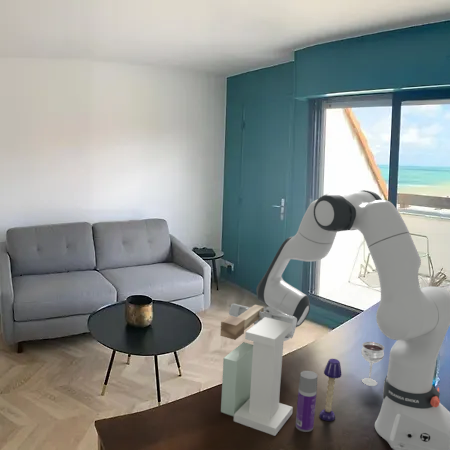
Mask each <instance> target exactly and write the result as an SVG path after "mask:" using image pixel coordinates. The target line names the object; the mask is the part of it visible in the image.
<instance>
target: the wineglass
mask: <svg viewBox="0 0 450 450" xmlns="http://www.w3.org/2000/svg"><path fill="white" fill-rule="evenodd" d="M361 346H362V348H361V356H362V358H363V359H364V361H366V362H368V363H369V374H368V377H364V379H363V378H362V379H361V380H362V382H363V383H364V384H363V383H362V382H361V383H362V384H363V385H365V384H366V386H369V387H375V386H377V385H378V381H377V382H376V380H375V379H374V380H373V378H371V375H372V371H373V365H374V364H377V363H379V362H381V361H382V360H383V358H384V355H385V353H384V350H385V346H384V345H383V344H381V343H378V342H374V341H365V342H363V343H362V345H361Z"/></svg>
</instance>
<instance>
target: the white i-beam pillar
mask: <svg viewBox="0 0 450 450" xmlns="http://www.w3.org/2000/svg"><path fill="white" fill-rule="evenodd" d="M291 331H292V323H288V322H284V321H280V320H275V319H271V318H267V317H264V318H263V319H262V320H260V321H259V322H258V323H257V324H255V325H254V324H253V325H252V326H251V327H250V328H248V329H247V330H245V333H244V334H245V336H244V337H245V340H246V341H247V340H248V341H251V342H253V343H252V345H253V357H252V373H251V389H250V399H249V400H248V401H247V402H246V403H245V404H244V405H243V406H242V407H241V408H240V409H239V410H238V411H237V412H236V413H235V414H234V416H233V422H235V423H237V424H241V425H242V426H246V427H250V428H251V429H254V430H257V431H260V432H263V433H266V434H269V435H271V436H276V435H277V434H278V432H280V431H281V429H282V428H283V426H284V425H285V424H286V423H287V421H288V420H289V419H290V417H291V416H292V414H293V407H294V406H290V405H288V404H284V403H281V402H280V392H281V380H282V365H283V355H284V354H283V353H284V342H285V341H284V337H285V336H286V335H288V334H289V333H290V332H291Z"/></svg>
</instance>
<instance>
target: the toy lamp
mask: <svg viewBox="0 0 450 450" xmlns="http://www.w3.org/2000/svg"><path fill="white" fill-rule="evenodd" d="M323 374H324V376H325V377H328V381H327V390H326V397H325V406H324V409H322V410H320V412H319V414H318V415H319V418H320V419H321V420H323V421H326V422H332V421H334V420H336V415H335V412H334V411H333V410H332V409H333V408H332V405H333V400H334V398H333V397H334V390H335V382H336V381H335V380H336V379H340V378H341V377H342V367H341V362H340V360H338V359H336V358H330V359H328V361H327V363H326V365H325V368H324V370H323Z"/></svg>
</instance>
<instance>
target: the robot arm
mask: <svg viewBox="0 0 450 450" xmlns="http://www.w3.org/2000/svg"><path fill="white" fill-rule="evenodd" d="M403 219H404V218H403V217H402V216H401V214H400V212H399V211H398V209H397V207H396V206H395V205H394V204H393V203H392V202H391V201H390V200H386V199H383V198H381V196H380V195H379V194H377V193H375V192H374V191H370V190H363V189H362V190H342V191H337V192H329V193H326V194H323V195H322V196H320V197H319V198H318V199H314V200H313V201H312V202H311V203H310V204H309V206H308V207H307V209H306V210H305V213H304V214H303V217H302V219H301V221H300V224H299V226H298V230H297V231H296V234H295V235H293V236H289V237H287V238H286V239H285V240H284V241H283V242H282V244H281V245H280V246H279V248H278V250H277V252H276V254H274V255H275V256H274V257H273V259H272V261H271V263H270V265H269V267H268V268H267V271H266V272H265V274H264V275H263V277H262V278H261V280H259V282H258V284H257V286H256V289H255V290H256V297H257V299H258V301H259V302H261V303H262V304H264V305H266V306H263V307H264V310H263V312H261V311H259V312H258V316H257V317H258V318H259V319H258V320H257V321H256V322H254V323H253V326H254V325H255V324H257V323H258V322H259V321H260V320H262V319H263V318H264V317H267V318H271V319H275V320H280V321H284V322H288V323H292V331H291V332H290V333H289V334H288V335H286V336H285V337H284V342H286V341H288V340H290V339H292V338H294V334H295V331H296V329H297V328H298V327H300V326H301V325H302V324H303V323H304V322H305V321H306V319H307V317H308V316H309V313H310V310H311V303H310V298H309V296H308V295H307V294H305V293H303V292H302V291H301V290H299V289H298V288H296V287H294V286H292V285H291V284H290V283H288V282H286V281H285V280H284V278H283V277H282V275H283V273H284V272H285V269H286V268H287V266H288V264H289V262H290V261H291V260H296V261H301V262H307V263H308V262H317V261H320V260H322V259H324V258H325V257H327V256H328V254H329V252H330V251H331V249H332V247H333V244H334V242H335V239H336V237H337V233H338V232H345V231H355V230H356V231H357V230H358V231H359V232H360V233H361V234H362V236H363V238H364V240H365V243H366V246H367V248H368V251H369V254H370V256H371V260H372V261H373V264H374V266H375V269H376V272H377V276H378V280H379V287H380V289H379V290H380V300H379V306H378V308H377V309H376V310H377V311H376V312H375V313H376V314H375V315H376V316H375V318H376V319H375V320H376V323H377V326H378V329H379V330H380V332H381V333H382V334H383V335H384V336H385V337H387V338H388V339H390V340H393V341H395V342H394V344H393V345H392V347H391V348H390V351H389V357H388V366H387V375H386V377H385V378H384V379H385V380H384V381H383V388H382V390H383V391H382V399H383V400H382V404H381V407H380V411H379V413H378V416H377V418H376V420H375V422H374V428H375V431H376V433H377V434H378V435H379V436H380V437H382V439H384V440H385V441H386V442H387V443H388V444H389V446H390V448H391V449H392V450H450V411H449V410H448V409H447V408H446V407H445V406H444V405H443V404H442V403H441V400H440V395H441V394H440V387H439V386H438V387H437V389H436V387H434V385H433V382H434V375H435V368H436V362H437V359H438V356H439V353H440V350H441V348H442V345H443V342H444V340H445V337H446V334H447V332H448V330H449V327H450V290H449V289H447V288H445V287H442V286H434V285H431V286H430V285H429V286H424V287H420V281H419V270H420V267H421V264H422V261H421V260H422V259H421V257H420V255H419V252H418V249H417V248H416V245H415V243H414V240H413V238H412V236H411V233H410V231H409V228H408V226H407V225H406V223H405V221H404V220H403ZM249 308H251V306H250V307H249V306H245V305H241V304H237V303H231V305H230V308H229V310H228V315H229V316H234V317H238V316H239V315H241V314H242V313H244V312H245V311H247V310H248V309H249Z"/></svg>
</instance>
